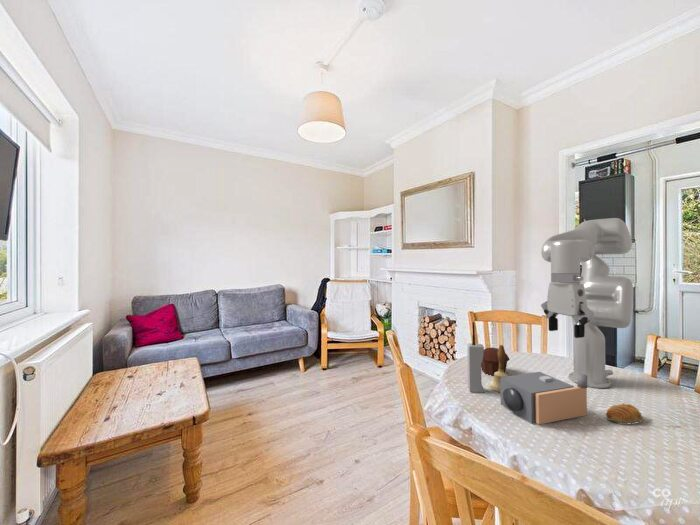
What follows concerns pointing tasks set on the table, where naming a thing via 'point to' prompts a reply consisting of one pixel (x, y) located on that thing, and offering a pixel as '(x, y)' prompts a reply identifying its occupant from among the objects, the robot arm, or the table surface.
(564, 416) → the side door
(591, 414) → the table surface
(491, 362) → the muffin
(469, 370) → the vintage mobile phone
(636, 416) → the pastry
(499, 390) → the hand bell
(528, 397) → the cabinet body
